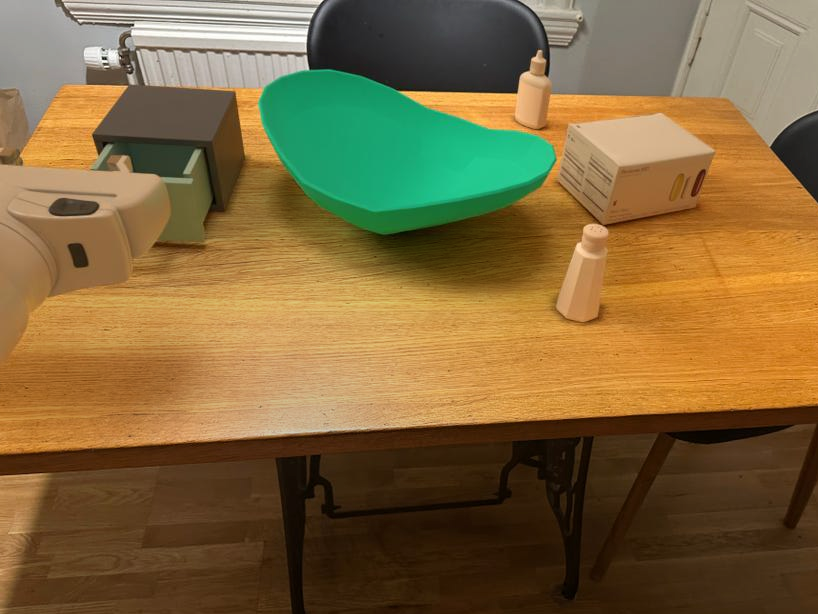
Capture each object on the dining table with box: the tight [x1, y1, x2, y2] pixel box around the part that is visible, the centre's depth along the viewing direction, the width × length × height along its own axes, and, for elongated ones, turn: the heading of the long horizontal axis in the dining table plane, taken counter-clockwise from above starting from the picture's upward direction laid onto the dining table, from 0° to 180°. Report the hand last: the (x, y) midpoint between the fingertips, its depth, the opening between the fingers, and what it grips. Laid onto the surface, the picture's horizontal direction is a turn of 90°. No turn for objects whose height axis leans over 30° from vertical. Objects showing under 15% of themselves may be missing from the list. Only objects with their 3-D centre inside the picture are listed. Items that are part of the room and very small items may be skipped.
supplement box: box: [556, 112, 716, 226], centre depth 101 cm, size 17×13×9 cm
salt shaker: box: [555, 223, 610, 323], centre depth 79 cm, size 5×5×11 cm
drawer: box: [89, 142, 215, 243], centre depth 84 cm, size 18×13×8 cm
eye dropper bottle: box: [514, 49, 552, 130], centre depth 115 cm, size 4×6×12 cm
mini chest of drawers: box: [91, 83, 246, 212], centre depth 92 cm, size 15×14×10 cm
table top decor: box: [257, 68, 558, 236], centre depth 90 cm, size 40×28×13 cm
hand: (68, 158), depth 63 cm, fingers open, 8 cm apart
